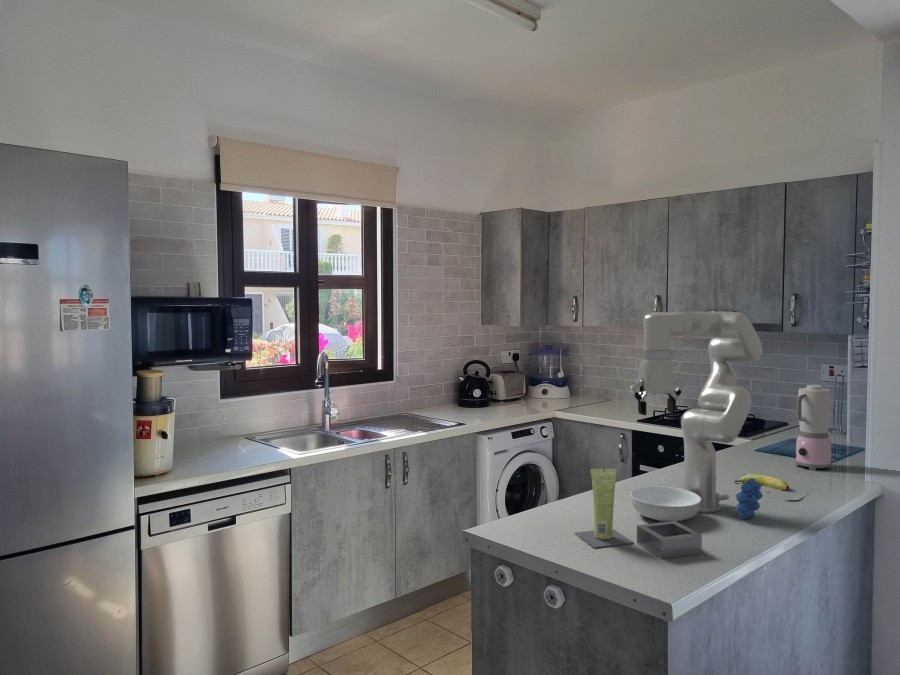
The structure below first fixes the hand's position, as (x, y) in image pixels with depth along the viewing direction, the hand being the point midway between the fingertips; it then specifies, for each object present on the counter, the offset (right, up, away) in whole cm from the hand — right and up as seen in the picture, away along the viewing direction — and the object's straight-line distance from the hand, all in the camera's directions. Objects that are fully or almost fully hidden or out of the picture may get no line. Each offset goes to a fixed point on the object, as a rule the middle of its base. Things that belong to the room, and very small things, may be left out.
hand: (657, 413), depth 200 cm
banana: (+50, -31, +40) cm, 71 cm away
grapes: (+29, -33, +7) cm, 44 cm away
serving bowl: (+5, -33, +8) cm, 34 cm away
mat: (-18, -34, -9) cm, 40 cm away
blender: (+80, -29, +64) cm, 106 cm away
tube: (-18, -34, -9) cm, 39 cm away
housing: (-2, -34, -18) cm, 39 cm away
